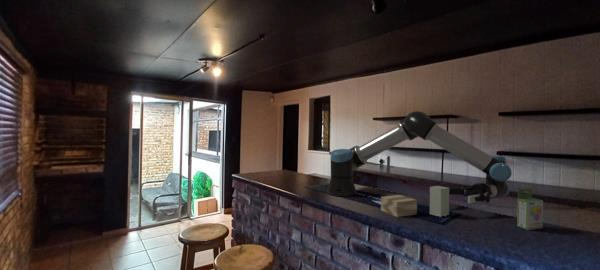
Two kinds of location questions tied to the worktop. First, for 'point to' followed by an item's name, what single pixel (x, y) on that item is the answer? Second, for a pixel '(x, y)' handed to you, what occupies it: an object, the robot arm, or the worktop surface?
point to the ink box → (529, 211)
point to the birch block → (399, 205)
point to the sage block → (439, 201)
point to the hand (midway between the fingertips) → (452, 196)
